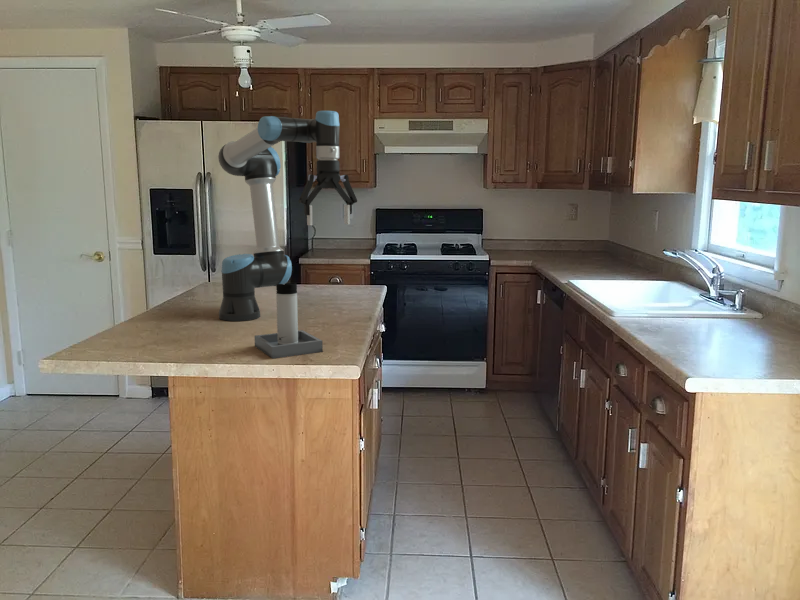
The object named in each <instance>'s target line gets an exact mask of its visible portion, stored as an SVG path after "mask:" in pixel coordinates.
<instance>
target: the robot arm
mask: <svg viewBox="0 0 800 600" xmlns="http://www.w3.org/2000/svg"><path fill="white" fill-rule="evenodd" d="M340 126H341V125H340V117H339V112H337V111H335V110H318V111H316V113H315V118H297V117H296V118H295V117H282V116H274V115H270V116H269V115H268V116H262V117H261V118H260V119H259V121H258V123H257V127H256V128H255V129H253V130H251V131H250V132H249V133H247V134H245V135H244V136H241V137H240V138H239V139H237V140H235V141H228V142H227V143H224V145H223V146H221V148H220V149H219V152H218V156H217V157H218V163H219V165H220V167H221V168H222V169H223V171H224V172H226V173H227V174H229V175H231V176H235V177H244V182H245V183H246V184H247V185H248V186H249V190H250V191H249V192H250V199H251V209H252V215H253V225H254V233H255V234H254V235H255V242H256V249H255V250H254V252H253V254H252V253H243V254H241V253H239V254H235V255H229V256H227V257H225V258H224V259H222V262H221V270H220V271H221V282H222V283H221V284H222V301H221V302H220V303H221V304H220V307H219V309H218V310H219V311H218V318H219V319H220V320H222V321H229V322H240V321H241V322H244V321H252V320H256V319H259V318H260V317H261V310H260V306H259V304H258V301H257V299H256V295H255V289H259V288H268V287H276V284H285V283H288V282H289V280H290V279H291V276H292V273H293V272H292V271H293V266H292V265H293V264H292V260H291V258H290V257H289V256H288V255H286V254H285V250H284V249H283V248H282V247H281V246H280V239H279V238H280V237H279V233H278V232H279V231H278V224H277V213H276V205H275V196H274V186H273V185H274V183H275V182H276V180H277V178H276V177H278V175H279V174H280V171H281V167H282V166H281V158H280V156H279V153H278V152H277V150H276V149H275V148H274V147H272V146H274V145H277V144H278V143H280V142H295V143H296V142H297V143H298V142H299V143H303V144H304V143H307V144H311V143H316V146H315V148H316V150H315V151H316V159H317V160H316V175H315V174H308V175H307V178H306V179H307V180H306V183H305V185H304V188H303V190H302V192H301V195H300V197H299V199H298V203H299V204H302V205H304V207H303V208H304V209H303V210H304V215H305V216H306V217H307V218H306V223H307V224H306V225H307V226H313V205H311V204H312V202H313V201H314V200H315V198H316V197H317V195H318V194H319V193H320V192H321V190H323V189H325V190H326V189H334V190H336V192H337V193H338V195H339V196H340V197H341V198H342V200H343V201H344V202H345V204H344V205H343V206H344V207H343V211H344V212H343V213H344V218H343V219H344V220H343V221H344V225H350V224H351V215H352V214H353V205H354V204H355V203H358V199H357V196H356V194H355V192H354V190H353V187H352V184H351V183H350V179H349V175H348V174H343V175H340V171H341V170H340V161H339V160H338V159H340ZM315 181H317V184H316V185H315V186H314V188H313V189H312V191H311V188H312V187H313V185H314V182H315ZM340 181H341V182H342V184H343V186H344V187H343V188H342V186H341V184H340ZM344 188H345V190H344ZM310 191H311V192H310ZM345 191H346V192H345Z"/></svg>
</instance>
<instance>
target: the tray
mask: <svg viewBox="0 0 800 600" xmlns="http://www.w3.org/2000/svg"><path fill="white" fill-rule="evenodd" d="M256 347H257V348H256ZM323 347H324V346H323V340H322V339H320V338H319V337H316V336H314V335H313V334H311V333H309V332H307V331H305V330H303V329H298V343H292V344H284V345H278V335H277V332H274V333H267V334H259V335H254V348H256V349H258V350H259V351H261V352H262V353H263V354H265V355H267V356H268V358H271V359H272V360H273V359H279V358H280V357H281V358H287V356H288V357H294V355H296V356H301V355H302V354H303V355H309V354H316V353H323V352H324V351H323Z"/></svg>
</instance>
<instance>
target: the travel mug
mask: <svg viewBox="0 0 800 600" xmlns="http://www.w3.org/2000/svg"><path fill="white" fill-rule="evenodd" d="M297 285H298V284H297V283H288V282H287V283H285V284H276V286H275V289H276V293H275V294H276V297H275V298H276V323H277V324H276V326H277V327H276V329H277V331H276V333H277V335H278V345H284V344H292V343H298V331H299V323H298V322H299V320H298V313H299V312H298V288H297V287H298V286H297Z"/></svg>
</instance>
